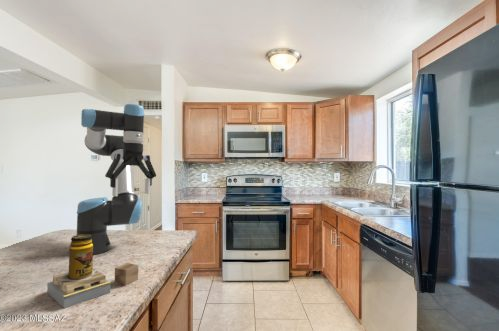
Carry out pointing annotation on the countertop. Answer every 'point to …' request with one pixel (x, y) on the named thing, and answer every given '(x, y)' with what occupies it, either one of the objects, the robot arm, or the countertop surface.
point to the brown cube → (126, 274)
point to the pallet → (78, 282)
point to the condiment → (80, 259)
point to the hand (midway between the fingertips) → (131, 194)
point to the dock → (77, 293)
